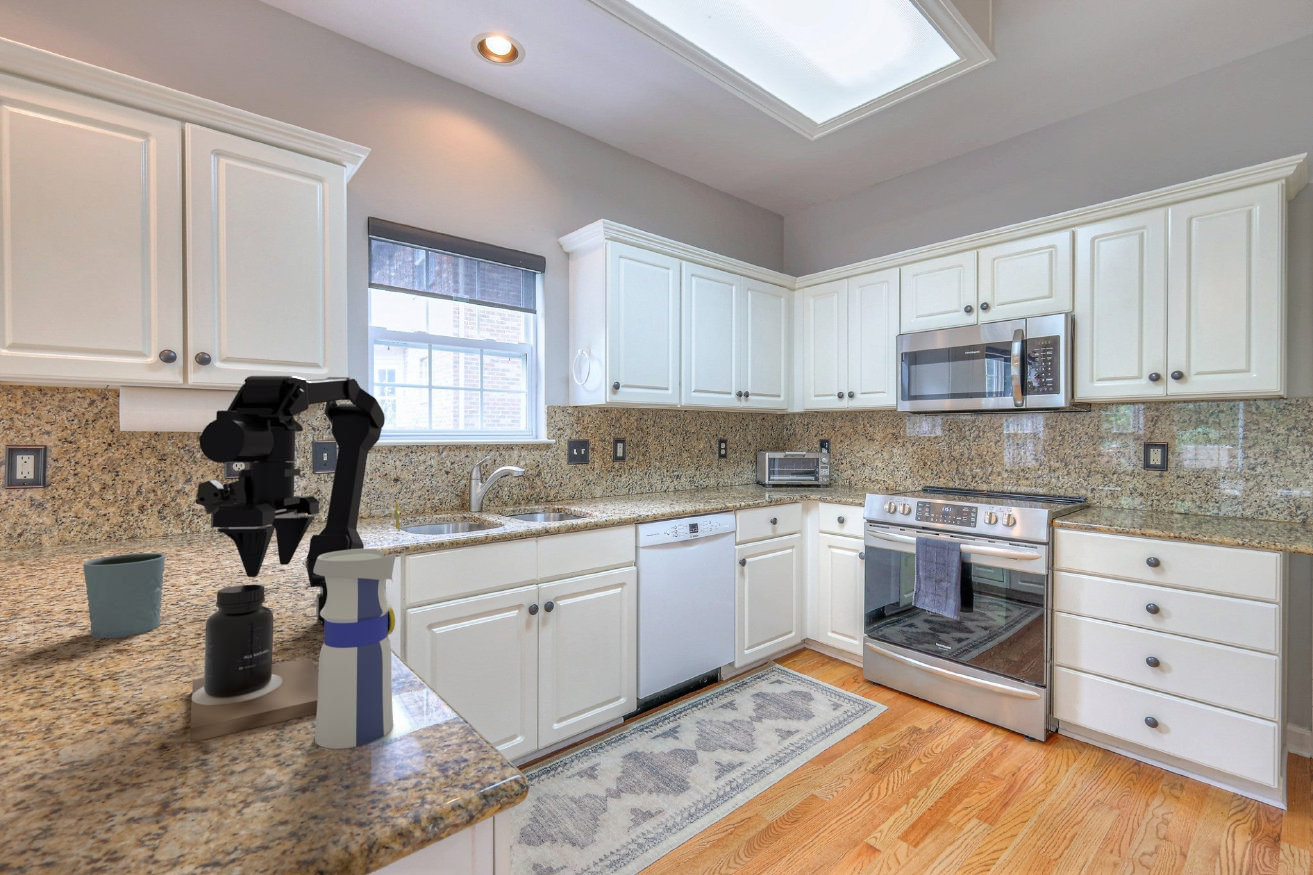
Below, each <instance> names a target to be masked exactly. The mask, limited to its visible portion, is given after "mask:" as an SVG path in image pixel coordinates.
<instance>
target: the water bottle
mask: <svg viewBox="0 0 1313 875" xmlns="http://www.w3.org/2000/svg"><path fill="white" fill-rule="evenodd" d="M398 506H399V505H398V501H395V510H394V512H393V513H394V517H395V529H396V530H397V531H398V532H400V531H401V527H400V526H401V525H400V515H401V514H400V512H399V507H398ZM396 557H397V555H396V553H391V554H388V555H385V554H384V552H383V551H382V550H380V549H377V548H364V549H351V550H342V551H335V552H329V553H325V554H322V555H320V556H318V558H317V561H316V563H315V566H314V570H313V572H314V573H315V574H317V575H320V576H325V580H326V585H327V600H326V604H325V606H324V607H323V609H322V610H321V612H320V615H321V617H323V618H324V619H325V620H324V626H323V627H324V629H323V631H324V632H323V633H324V635H323V637H324V638H323V640H324V641H323V644H322V646H321V650H320V652H319V657H318V658H319V659H318V670H317V672H318V701H317V713H316V715H315V716H316V717H315V718H316V719H315V731H314V742H315V744H316V745H318V746H320V747H322V748H325V749H332V750H333V749H334V750H335V749H336V750H339V749H343V750H344V749H350V748H357V747H360V746H364V745H368V744H371V743H374V742H375V741H376V742H377V741H378V740H379V739H381V738H383V737H385V736H386V735H387V734H389V733H390V732H391V730H392V729H393V727H394V714H393V712H394V711H393V694H392V693H393V691H392V690H393V689H392V687H393V685H392V645H391V640H390V638H389V635H391V634H392V633H393V632H394V630H395V628H396V615H395V612H394V609H393V608H392V607H393V606H392V604H391V602H390V601H389V599H388V597H387V593H386V582H387V580H391V581H392V583H394V581H393V573H394V565H395V561H396Z"/></svg>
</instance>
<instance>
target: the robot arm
mask: <svg viewBox="0 0 1313 875" xmlns="http://www.w3.org/2000/svg"><path fill="white" fill-rule="evenodd" d="M337 401H350V403H341V404H340V403H339V404H338V403H337ZM320 403H326V404H325V408H324V415H325V416H326V417H327V419H328V421H329V423H330V424H331V434H332V437H333V438H334V440H335V443H336V445H337V446H338V447H337V448H338V449H337V450H338V451H337V456H336V457H337V458H336V461H335V462H336V463H335V468H334V476H333V481H332V487H331V493H330V498H329V504H328V511H327V517H326V522H325V523H326V524H325V527H323V529H322V530H321V531H320V533H319V534H313V535H312V536H311V537H310V539H309V550H308V553H307V556H306V562H305V566H306V568H305V569H306V572H307V577H308V580H309V584H310V586H309V587H310V588H316V587H317V588H319V587H320V589H319V592H320V593H317V594H316V607H315V609H316V611H315V612H316V613H315V615H316V619H317V621H319V622H320V624H321V625H322V626H323V627H324V620H325V619H324V618H323V617H321V615H320V612H321V610H322V609H323V607H324V606H325V604H326V600H327V585H326V580H325V576H320V575H317V574H315V573H314V572H313V570H314V566H315V563H316V561H317V558H318V556H320V555H322V554H325V553H329V552H335V551H342V550H351V549H365V548H364V547H365V544H364V542H363V540H362V538H361V536H360V534H359V532H358V530H357V528H358V520H359V513H360V508H361V500H362V494H363V488H364V482H365V481H364V480H365V473H366V466H367V460H368V454H369V452H370V450H372V448H373V447H374V446H375V445H376V443H377V442H378V441H379V440H380V438H381V433H382V430H383V429H382V428H383V427H384V425H385V422H386V421H385V419H386V418H385V413H384V411H383V409H382V408H381V406H380V403H379V402H378V400H377V398H375V397H374V396H373V395H372V394H370V393H369V392H367V391H365V390H364V389H363V388H361V386H360V385H359V383H358V381H357V380H356V379H355V378H351V377H349V376H328V377H325V378H321V379H320V378H317V379H306V378H303V377H299V376H295V375H250V376H247V377H246V378H244V384H242V385H241V386H240V388H239V390H238V391H237V393H236V394H235V397H234V398H233V399H232V401H231V403H230V405H229V406H228V408H227V410H217V411H216V416H215V418H216V419H214V420H212V421H211V422H209V423H208V424H207V425H206V426H205V427H204V429H203V430H202V433H201V435H200V436H199V447H200V450H201V452H202V454H203V455H204V457H206V458H207V459H208V460H210V461H212V462H214V463H219V464H228V463H229V464H231V463H233V464H234V463H235V464H236V463H247V469H246V468H245V469H244V468H243V469H242V468H241V469H240V471H239V472H238V480H235V481H233V482H229V483H223V484H221V483H220V481H219V480H216V479H214V480H206V481H204V482H200V483H199V484H198V486H197V492H196V497H197V498H196V499H195V504H197V505H200V506H202V507H204V509H205V512H206V515H210V527H211V528H217V529H216V530H217V532H218V533H220V534H224V535H225V536H227V537H228V538H230V539H231V540H232V541H233V542H234V545H235V546H236V549H237V551H238V554H239V557H240V559H241V563H242V565H243V569H244V571H245V573H246V576H247V577H248V578H256V577H258V575H259V574H260V570H261V567H262V565H263V563H264V559H265V556H266V555H267V551H268V548H269V545H270V542H271V541H272V537H273V534H274V531H275V534H276V544H277V553H278V560H279V564H280V566H287V565H289V564H290V562H291V560H292V559H293V556H294V555H295V553H296V551H297V549H298V547H299V545H300V543H301V541H302V539H303V538H304V537H305V534H306V532H307V531H308V529H309V527H310V525H311V523H312V522H313V521H314V520H315V519H316V517H315V516H314V515H316V514H317V515H318V514H320V501H319V500H318V499H317V498H316V497H315V496H314V495H295V477H297V476H301V468H295V466H296V461H295V460H296V433H297V432H299V433H300V432H303V431H304V427H303V426H302V424H300V423H299V422H298V421H296V419H295V417H294V416H297V415H299V414H301V413H303V412H306V411H307V410H308V409H309V406H310V405H313V404H320ZM306 514H307V515H306ZM308 515H309V516H308ZM310 515H311V516H310Z"/></svg>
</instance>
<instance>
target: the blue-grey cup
mask: <svg viewBox="0 0 1313 875" xmlns="http://www.w3.org/2000/svg"><path fill="white" fill-rule="evenodd" d="M165 560H166V554H164V553H159V552H142V553H141V552H140V553H128V554H120V555H114V556H113V555H112V556H111V555H110V556H105V557H100V558H96V559H91V560H87V561H85V562H84V563H83V566H82V567H83V573H84V574H83V575H84V581H85V587H86V595H87V597H86V599H87V601H88V604H87V607H88V613H89V622H90V633H91V637H92V638H94V639H101V638H103V640H104V638H107V639H119V638H124V637H125V638H126V637H131V636H137V635H141V634H144V633H145V634H146V633H149V632H151V631H154V630H156V629H158V628H159V627H160V624H161V611H162V609H161V608H162V594H163V584H164V575H163V574H164V570H165V562H166V561H165ZM153 629H154V630H153Z"/></svg>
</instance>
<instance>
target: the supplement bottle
mask: <svg viewBox="0 0 1313 875" xmlns="http://www.w3.org/2000/svg"><path fill="white" fill-rule="evenodd" d="M265 589H266V588H265V586H264V585H262V584H240V585H234V586H228V587H224V588H220V589H219V590H217V592H216V601H215V607H216V608H218V610H217V611H215V612H214V613H212V614H210V616H209V617H208V618H207V620H206V622H205V633H204V634H205V635H204V636H205V637H204V638H205V640H204V666H203V668H204V670H203V671H204V672H203V678H204V691H205V693H206V694H207V695H209V696H212V697H233V696H239V695H244V694H248V693H251V692H254V691H257V690H260V689H262V688H263V687H265V686H266V685H268V684H269V682H270V681H271V678H272V665H273V651H274V650H273V648H274V645H273V642H274V614H273V613H274V612H272V610H271V609H270V608H268V607H267V606H265V605H263V603H265V602H266V596H265Z"/></svg>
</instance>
